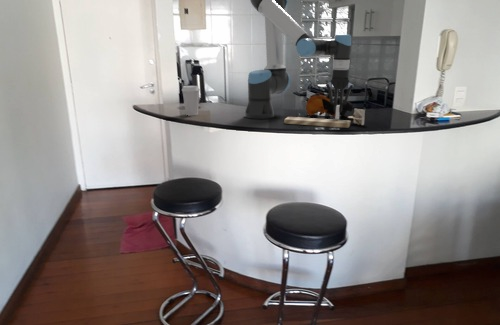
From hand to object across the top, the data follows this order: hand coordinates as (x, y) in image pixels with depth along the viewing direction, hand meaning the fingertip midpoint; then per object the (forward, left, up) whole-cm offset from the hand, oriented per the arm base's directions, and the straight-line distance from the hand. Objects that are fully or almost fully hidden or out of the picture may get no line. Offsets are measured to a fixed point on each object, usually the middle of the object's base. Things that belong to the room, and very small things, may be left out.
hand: (337, 118), depth 187 cm
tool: (-6, +14, -2) cm, 15 cm away
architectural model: (+10, -3, -2) cm, 11 cm away
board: (-8, -10, -1) cm, 13 cm away
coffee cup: (-76, -7, -2) cm, 76 cm away
